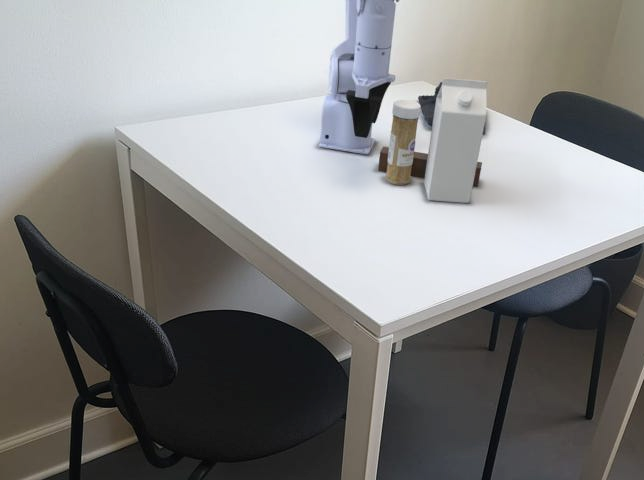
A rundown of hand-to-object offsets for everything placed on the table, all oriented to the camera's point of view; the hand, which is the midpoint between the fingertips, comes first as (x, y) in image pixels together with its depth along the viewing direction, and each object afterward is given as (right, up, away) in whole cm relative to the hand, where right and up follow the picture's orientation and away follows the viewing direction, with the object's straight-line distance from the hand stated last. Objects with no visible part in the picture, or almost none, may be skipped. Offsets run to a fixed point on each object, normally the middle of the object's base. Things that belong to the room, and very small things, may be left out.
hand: (365, 129), depth 122 cm
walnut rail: (+11, -6, +7) cm, 15 cm away
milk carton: (+14, -11, +2) cm, 18 cm away
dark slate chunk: (+18, +13, +35) cm, 41 cm away
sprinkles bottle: (+6, -8, +4) cm, 11 cm away
